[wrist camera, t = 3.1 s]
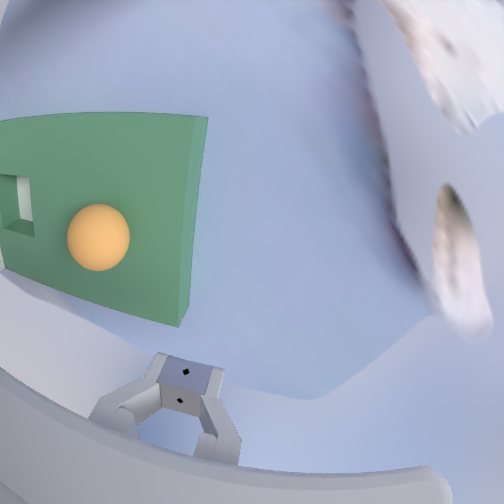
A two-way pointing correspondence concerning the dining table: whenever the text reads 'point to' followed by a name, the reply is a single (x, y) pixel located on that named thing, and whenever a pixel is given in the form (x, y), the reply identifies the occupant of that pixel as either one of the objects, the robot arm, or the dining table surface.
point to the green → (104, 192)
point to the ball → (98, 237)
